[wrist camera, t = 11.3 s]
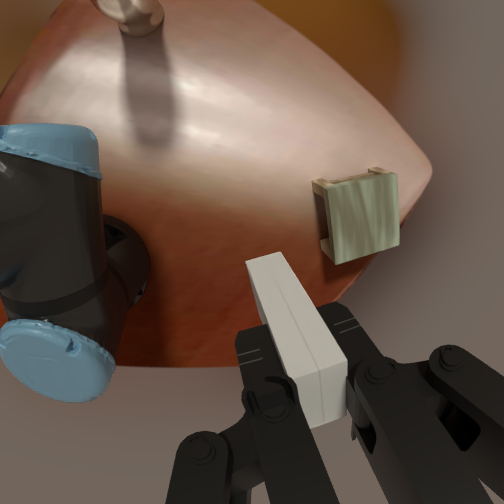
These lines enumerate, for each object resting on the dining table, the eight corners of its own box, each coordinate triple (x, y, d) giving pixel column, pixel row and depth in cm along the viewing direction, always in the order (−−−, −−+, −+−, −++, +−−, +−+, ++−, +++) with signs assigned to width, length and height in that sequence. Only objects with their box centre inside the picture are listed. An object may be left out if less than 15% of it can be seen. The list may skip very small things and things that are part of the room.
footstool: (335, 265, 42) (399, 244, 43) (327, 189, 38) (397, 174, 38) (321, 249, 47) (380, 231, 48) (311, 180, 43) (376, 166, 43)
